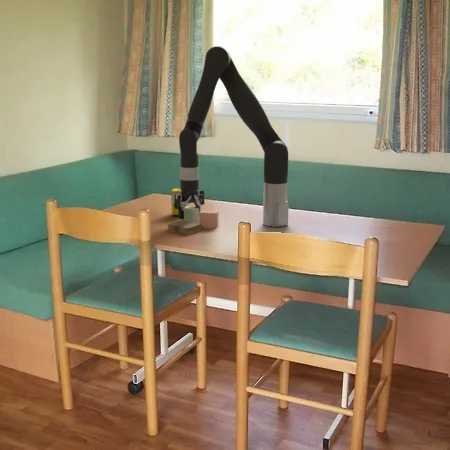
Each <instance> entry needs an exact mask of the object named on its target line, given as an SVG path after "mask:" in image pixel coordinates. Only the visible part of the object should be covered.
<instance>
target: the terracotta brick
mask: <svg viewBox="0 0 450 450" xmlns="http://www.w3.org/2000/svg"><path fill="white" fill-rule="evenodd" d="M199 224H201V228H209V229H211V228H213V229H217V228H218V227H219V211H218V210H202V209H200V212H199Z"/></svg>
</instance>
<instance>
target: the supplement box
mask: <svg viewBox="0 0 450 450" xmlns="http://www.w3.org/2000/svg"><path fill="white" fill-rule="evenodd" d="M175 194H181V189H180V187H178V188H177V187H176V188H173V189H172V190H171V216H172V217H178V209H175V208H174V198H175ZM183 203H185V202H184V201H183ZM177 205H178V204H177ZM187 206H189V204H187Z"/></svg>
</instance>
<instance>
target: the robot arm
mask: <svg viewBox="0 0 450 450" xmlns="http://www.w3.org/2000/svg"><path fill="white" fill-rule="evenodd" d="M219 80H220V81H221V82H222V84H223V86H224V88H225V91H226V92H227V95H228V98H229V100H230V101H231V105H233V107H234V109H235V112H236V113H237V115H238V116H239V118H240V119H241V120H242V122H243V123H244V124H245V126H246V127H247V128H248V129H249V130H250V131H251V133H253V134H254V136H255V137H256V139H257V141H258V143H259V145H260V146H261V148H262V151H263V154H264V155H263V156H264V157H263V199H262V201H263V204H262V205H263V207H262V209H263V210H262V211H263V212H262V224H263V225H264V226H266V227H270V226H272V227H274V228H280V227H279V226H281V227H285V226H288V225H289V210H290V209H289V206H290V205H289V203H290V202H289V201H288V199H287V198H288V179H289V177H288V176H289V149H288V146H287V145H286V143H285V142H284V141H283V140H282V139H281V137H280V136H279V134H278V133H277V132H276V131H275V129H274V128H273V126H272V124H271V122H270V120H269V118H268V116H267V114H266V112H265V110H264V108H263V106H262V104H261V103H260V101H259V99H258V98H257V96H256V94H255V93H254V92H253V90H252V89H251V88H250V86H249V85H248V83H247V82H246V81H245V79H244V78H243V77H242V75H241V74H240V72H239V71H238V69H237V67H236V65H235V62H234V60H233V59H232V56H231V54H230V52H229V50H228V49H227V48H225V47H223V46H221V45H220V46H219V45H218V46H217V45H216V46H215V45H214V46H212V47H210V48H209V49H208V50H207V52H206V53H205V59H204V65H203V69H202V75H201V78H200V81H199V85H198V87H197V89H196V92H195V94H194V97H193V99H192V101H191V105H190V107H189V111H188V112H187V120H186V122H185V124H184V125H185V126H184V127H183V129H182V130H181V132H180V133H179V137H178V143H179V144H178V145H179V152H180V169H179V188H180V189H181V194H175V198H174V208H175V209H178V216H177V217H178V219H179V220H181V219H182V220H183V219H184V208H185V206H187V204H188V205H190V204H191V203H193V204H194V208H198V209H199V212H200V211H201V207H202V206H204V205H205V191H204V190H202V189H200V170H199V154H198V151H197V147H198V145H197V143H198V141H199V139H200V137H201V133H202V131H203V126H204V123H205V120H206V119H207V115H208V113H209V110H210V107H211V105H212V101H213V97H214V94H215V91H216V90H215V89H216V87H217V85H218V82H219ZM183 201H184V202H185V203H183ZM177 204H178V205H177ZM287 224H288V225H287ZM284 225H285V226H284Z"/></svg>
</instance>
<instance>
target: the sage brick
mask: <svg viewBox="0 0 450 450" xmlns="http://www.w3.org/2000/svg"><path fill="white" fill-rule="evenodd" d="M180 220H182V219H180ZM183 221H188V222H194V223H199V209H198V208H195V206H189V205H188V206H185V208H184V219H183Z"/></svg>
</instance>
